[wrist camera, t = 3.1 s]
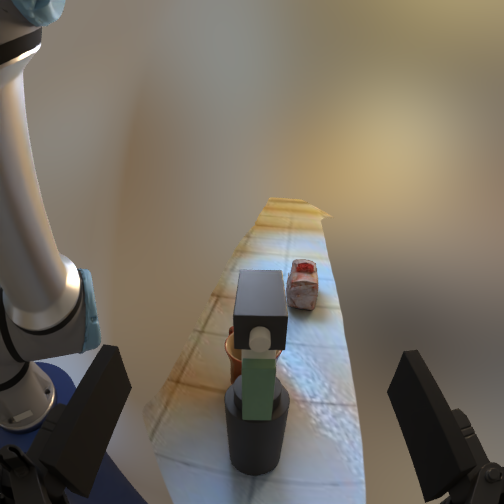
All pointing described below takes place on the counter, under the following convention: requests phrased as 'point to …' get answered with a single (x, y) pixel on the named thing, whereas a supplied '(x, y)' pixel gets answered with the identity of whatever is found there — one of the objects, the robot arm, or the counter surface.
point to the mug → (237, 356)
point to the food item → (302, 285)
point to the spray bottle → (258, 347)
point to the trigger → (258, 388)
